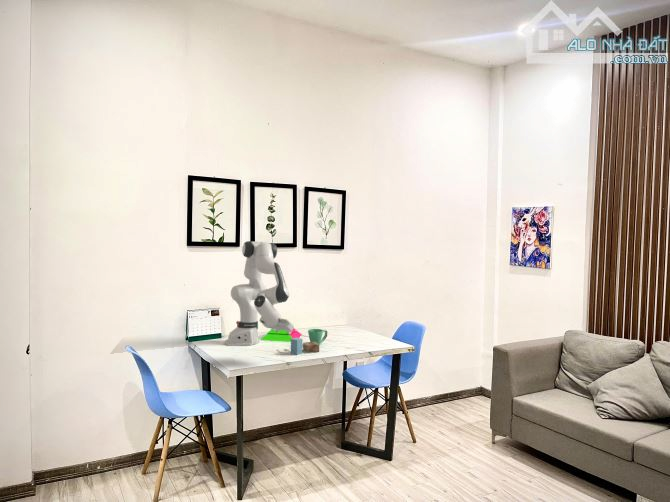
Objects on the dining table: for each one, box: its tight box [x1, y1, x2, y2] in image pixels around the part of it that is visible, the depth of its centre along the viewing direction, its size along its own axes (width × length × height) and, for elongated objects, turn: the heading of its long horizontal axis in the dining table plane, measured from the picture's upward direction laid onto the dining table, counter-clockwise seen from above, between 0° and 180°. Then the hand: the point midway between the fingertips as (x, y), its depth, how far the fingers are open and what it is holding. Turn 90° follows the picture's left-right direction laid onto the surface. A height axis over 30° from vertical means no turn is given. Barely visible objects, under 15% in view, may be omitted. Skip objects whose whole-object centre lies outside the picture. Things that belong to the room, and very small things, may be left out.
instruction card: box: [276, 347, 291, 353], centre depth 296 cm, size 10×7×1 cm
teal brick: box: [290, 337, 303, 356], centre depth 289 cm, size 5×5×9 cm
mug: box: [307, 328, 328, 345], centre depth 312 cm, size 15×10×10 cm
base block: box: [302, 341, 320, 354], centre depth 296 cm, size 8×8×5 cm
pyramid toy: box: [260, 328, 303, 343], centre depth 332 cm, size 25×25×14 cm
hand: (283, 332), depth 279 cm, fingers open, 8 cm apart
